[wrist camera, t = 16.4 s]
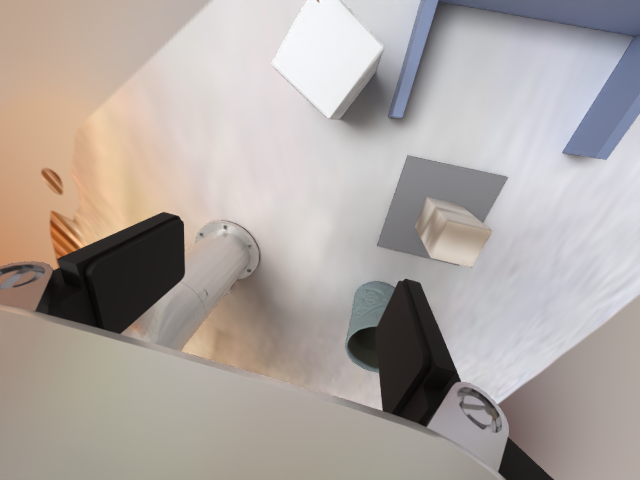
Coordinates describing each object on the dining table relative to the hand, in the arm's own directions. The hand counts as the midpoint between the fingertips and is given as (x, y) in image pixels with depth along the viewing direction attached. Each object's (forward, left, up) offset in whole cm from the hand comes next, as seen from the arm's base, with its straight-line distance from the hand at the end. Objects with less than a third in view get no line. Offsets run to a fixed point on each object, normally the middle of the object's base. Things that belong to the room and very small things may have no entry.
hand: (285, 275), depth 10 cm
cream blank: (-4, -16, -29) cm, 34 cm away
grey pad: (-4, -16, -30) cm, 34 cm away
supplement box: (+11, +3, -30) cm, 32 cm away
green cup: (-23, -12, -30) cm, 40 cm away
